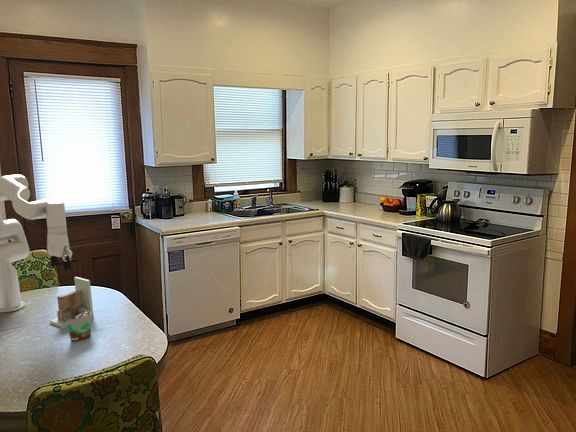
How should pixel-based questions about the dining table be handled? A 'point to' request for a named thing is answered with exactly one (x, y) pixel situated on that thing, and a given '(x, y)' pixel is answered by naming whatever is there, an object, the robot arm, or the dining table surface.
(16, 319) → the dining table surface
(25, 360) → the dining table surface
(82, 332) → the food container
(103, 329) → the dining table surface
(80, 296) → the wooden block
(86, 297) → the hinge base
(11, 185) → the robot arm
